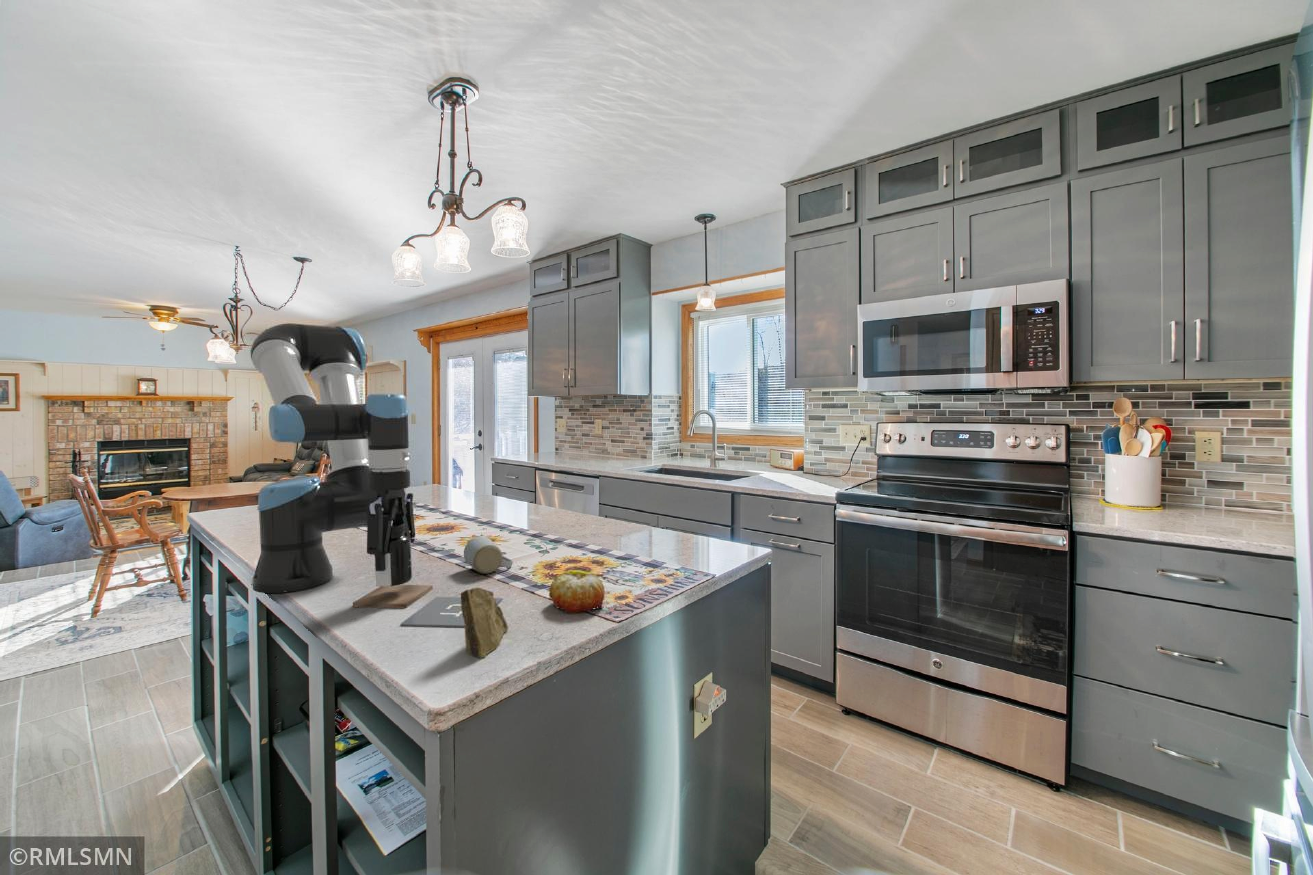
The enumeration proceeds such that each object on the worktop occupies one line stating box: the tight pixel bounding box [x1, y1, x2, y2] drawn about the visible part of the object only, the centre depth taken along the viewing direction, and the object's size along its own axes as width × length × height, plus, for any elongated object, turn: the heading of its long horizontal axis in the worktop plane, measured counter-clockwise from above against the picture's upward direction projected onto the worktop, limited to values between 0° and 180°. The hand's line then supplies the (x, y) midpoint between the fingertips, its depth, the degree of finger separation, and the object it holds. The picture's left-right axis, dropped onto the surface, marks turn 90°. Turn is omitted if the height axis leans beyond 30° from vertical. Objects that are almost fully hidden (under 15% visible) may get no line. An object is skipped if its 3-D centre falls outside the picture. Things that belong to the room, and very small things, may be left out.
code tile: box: [400, 596, 504, 628], centre depth 107 cm, size 14×14×1 cm
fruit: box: [548, 569, 606, 614], centre depth 111 cm, size 11×10×8 cm
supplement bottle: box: [374, 522, 413, 586], centre depth 115 cm, size 7×7×12 cm
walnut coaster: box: [352, 584, 433, 609], centre depth 115 cm, size 11×11×1 cm
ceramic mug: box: [463, 535, 514, 575], centre depth 134 cm, size 11×8×8 cm
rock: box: [460, 587, 509, 659], centre depth 94 cm, size 11×9×10 cm
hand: (394, 579), depth 115 cm, fingers closed on supplement bottle, 7 cm apart
